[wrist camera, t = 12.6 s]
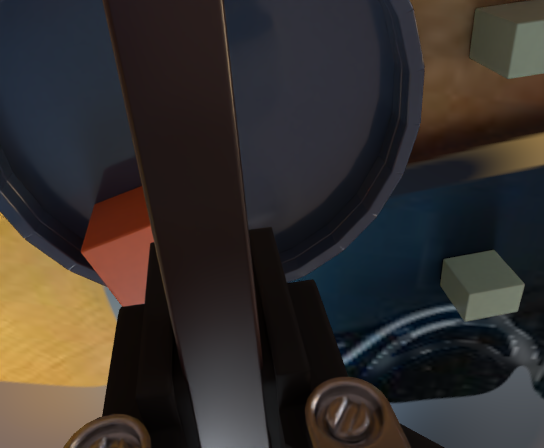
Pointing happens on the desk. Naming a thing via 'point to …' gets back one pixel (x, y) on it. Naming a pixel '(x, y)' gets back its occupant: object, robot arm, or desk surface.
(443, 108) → the desk surface
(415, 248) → the desk surface
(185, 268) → the dark brown long bar
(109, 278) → the block
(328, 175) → the dark blue round tray
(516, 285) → the pale green long bar
